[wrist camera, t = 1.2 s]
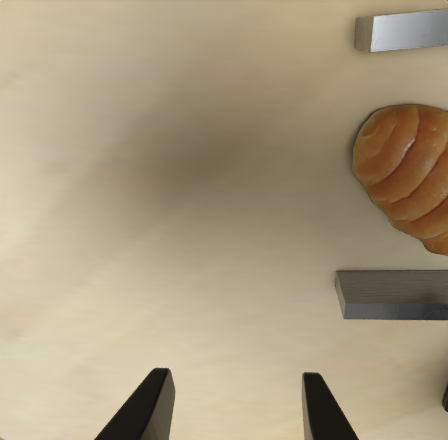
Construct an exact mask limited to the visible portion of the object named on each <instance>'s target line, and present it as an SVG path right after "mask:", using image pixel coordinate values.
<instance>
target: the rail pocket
mask: <svg viewBox="0 0 448 440" xmlns="http://www.w3.org/2000/svg"><path fill="white" fill-rule="evenodd" d="M444 45H448V8H447V9H437V10H427V11H417V12H407V13H397V14H387V15H377V16H367V17H358V18H357V19H356V32H355V44H354V47H355V48H359V49H362V50H366V51H369V52H375V51H387V50H398V49H410V48H421V47H433V46H444ZM335 287H336V291H337V295H338V299H339V303H340V306H341V310H342V314H343V318H344V319H379V320H448V271H336V282H335Z"/></svg>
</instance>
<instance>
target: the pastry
mask: <svg viewBox="0 0 448 440" xmlns="http://www.w3.org/2000/svg"><path fill="white" fill-rule="evenodd" d="M352 169H353V174H354V175H355V176H356V177H357V179H358V180H359V181H360V183H361V184H362V185H363V186H364V187H365V189H366V191H367V193H368V194H369V197H370V199H371V200H372V202H373V203H375V204H376V205H377V206H378V207H380V208H381V209H382V210H383V211H384V213H385V214H386V215H387V216H388V218H389V221H390V223H391V224H392V226H393V227H394V228H396V229H398V230H399V231H402V232H404V233H407V234H410V235H411V236H413V237H415V238H417V239H419V240H420V241H421V242H422V243H423V244H424V247H425V248H426V249H427V250H428V251H429V252H431V253H435V254H441V255H446V256H448V111H444V110H442V109H440V108H434V107H429V106H424V105H418V104H411V105H401V106H389V107H385V108H383V109H380V110H378V111H376V112H375V113H373V114H372V116H371V117H370V118H369V119H368V120H367V121H366V122H365V123H364V125H363V126H362V127H361V129H360V131H359V133H358V136H357V139H356V142H355V145H354V147H353V165H352Z"/></svg>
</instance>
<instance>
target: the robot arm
mask: <svg viewBox="0 0 448 440" xmlns="http://www.w3.org/2000/svg"><path fill="white" fill-rule="evenodd" d="M174 400H175V386H174V382H173V378H172V374H171V371H170V369H169V368H154V369H153V370H152V371H151V372H150V373H149V374H148V376H147V377H146V378H145V379H144V380H143V382H142V383H141V384H140V385H139V386H138V388H137V389H136V390H135V391H134V392H133V394H132V395H131V396H130V397H129V398H128V400H127V401H126V402H125V403H124V404H123V406H122V407H121V408H120V409H119V410H118V412H117V413H116V414H115V415H114V416H113V418H112V419H111V420H110V421H109V422H108V424H107V425H106V426H105V427H104V428H103V430H102V431H101V432H100V433H99V434H98V436H97V437H96V438H95V439H94V440H169V434H170V427H171V420H172V414H173V407H174ZM442 405H443V407H444V409H445V411H446V412H448V389H447V392H446V395H445V398H444V401H443V403H442ZM302 408H303V422H304V437H305V440H359V439H358V437H357V435H356V434H355V432H354V430H353V429H352V427H351V425H350V423H349V422H348V420H347V418H346V417H345V415H344V413H343V412H342V410H341V408H340V407H339V405H338V403H337V401H336V400H335V398H334V396H333V395H332V393H331V391H330V390H329V388H328V386H327V384H326V383H325V381H324V379H323V378H322V376H321V375H320V374H319V373H312V372H305V373H303V375H302Z"/></svg>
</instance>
